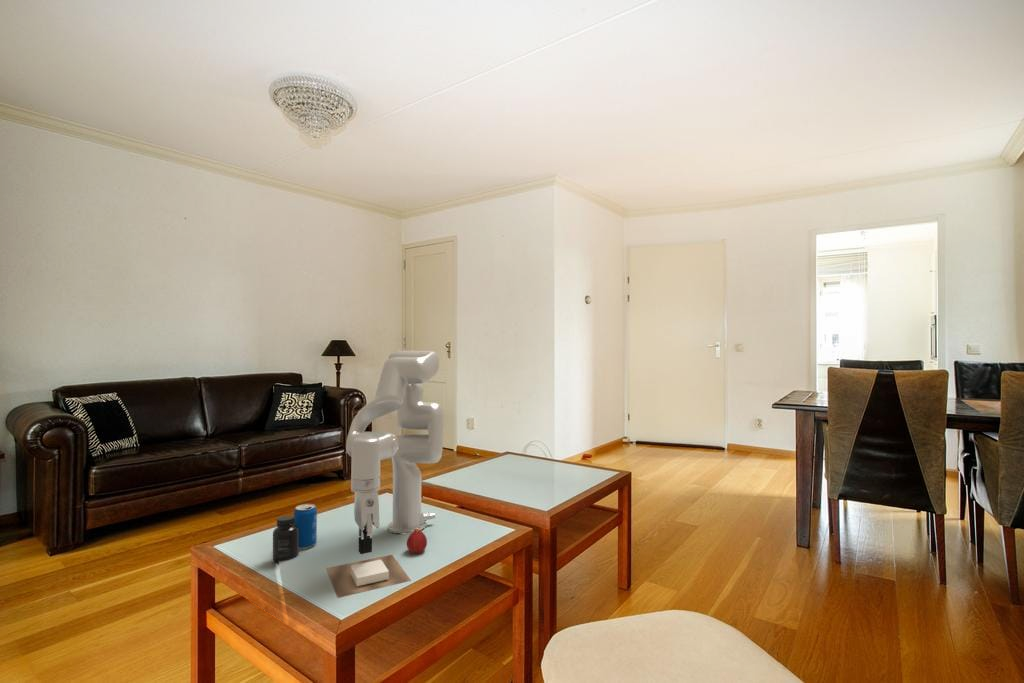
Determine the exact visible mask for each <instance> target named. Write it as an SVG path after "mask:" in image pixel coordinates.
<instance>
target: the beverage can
mask: <svg viewBox="0 0 1024 683" xmlns="http://www.w3.org/2000/svg"><path fill="white" fill-rule="evenodd" d="M317 514H318V510H317V507H316V504H314V503H313V504H312V503H304V504H303V503H302V504H299V505H297V506H296V507H295V509H294V512H293V516H295V524H294V525H296V526H297V527H298V528H299V550H307V549H310V548H311V549H312V548H313V546H314V545H316V544H317V538H318V537H317V536H318V535H317V533H318V532H317V523H318V521H317V520H318V519H317V518H318V515H317Z"/></svg>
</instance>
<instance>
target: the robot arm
mask: <svg viewBox="0 0 1024 683" xmlns="http://www.w3.org/2000/svg"><path fill="white" fill-rule="evenodd" d="M439 368H440V358H439V355H438V354H437V352H435V351H433V350H397V351H393V352H391V353H390V354H389V356H388V359H386V360H385V362H384V364H383V367H382V370H381V374H380V376H379V377H380V378H379V381H378V384H377V388H376V392H375V394H374V397H373V399H372V400H370V401H369V402H368V403H366V404H365V405H364V406H363V407H362V408H361V409H360V410H359V411H358V412H357V414H356V415H355V416H354V418H353V419H352V420H351V425H350V427H349V431H348V433H347V438H346V442H345V443H346V444H345V449H346V453H347V455H349V457H351V462H350V464H351V466H350V469H351V470H350V471H351V474H350V475H351V476H350V478H351V480H350V481H351V482H350V485H351V486H350V490H351V492H352V493H354V504H353V506H354V508H353V510H354V511H353V512H354V515H353V516H354V517H353V518H354V521H355V524H356V525H357V526H358V553H359V554H360V555H364V554H369V553H372V551H373V526H374V527H375V528H376V529H379V528H380V526H381V525H380V502H379V500H380V499H379V498H380V497H379V492H378V491H379V490H380V489H381V461H384V460H390V459H391V462H392V521H391V522H389V523H388V525H387V530H388V532H390V533H392V532H393V534H396V533H406V534H411V533H412V532H414V531H415V529H416V528H418V529H419V530H421V529H423V528H424V527H425V526H427V522H426V521H427V520H435V519H436V514H435V512H433V513H430V512H423V511H422V473H421V470H420V468H419V466H418V465H417V464H436V463H438V462H439V461H441V459H442V455H443V444H444V443H443V442H444V425H445V424H444V422H445V421H444V420H445V419H444V417H445V415H444V409H443V407H442V405H441V404H439V402H432V401H431V402H427V401H426V402H425V401H424V386H423V384H426V383H427V382H429V381H430V380H431V379H433V377H434V376H436V374H437V373H438V372H439ZM395 411H397V413H396V423H397V426H398V427H399V428H400V429H403V430H407V431H410V430H411V431H427V432H428V434H426V433H425V434H424V433H423V434H420V433H402V434H398V435H395V434H394V433H392V432H389V431H387V432H386V431H365V430H366V429H367V427H368V426H369V425H370V424H371V423H372V422H373V421H375V420H377V419H379V418H381V417H383V416H385V415H388V414H391V413H393V412H395ZM425 528H426V527H425ZM425 528H424V529H425ZM424 529H423V530H424ZM421 531H422V530H421Z"/></svg>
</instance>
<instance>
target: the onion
mask: <svg viewBox="0 0 1024 683" xmlns="http://www.w3.org/2000/svg"><path fill="white" fill-rule="evenodd" d="M427 545H428V541H427V536H426V535H425V533H424V532H423V531H422V530H421V531H420V530H419V529H418V528H416V529H415V531H414V532H412V533H409V536H408V538H407V539H406V546H407V549H408V551H409V552H410V553H412V554H420V553H423V552H424V551H425V550H426V548H427Z"/></svg>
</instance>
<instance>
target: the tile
mask: <svg viewBox="0 0 1024 683" xmlns="http://www.w3.org/2000/svg"><path fill="white" fill-rule="evenodd" d="M350 573H351V575H352V578H353V580H354V582H355V584H356V586H361V585H365V584H370V583H374V582H378V581H383V580H387V579H389V571H388V569H387V568H386V566H385V565H384V563H383V562H382V560H376V561H371V562H366V563H361V564H357V565H352V566H351V572H350Z"/></svg>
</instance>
